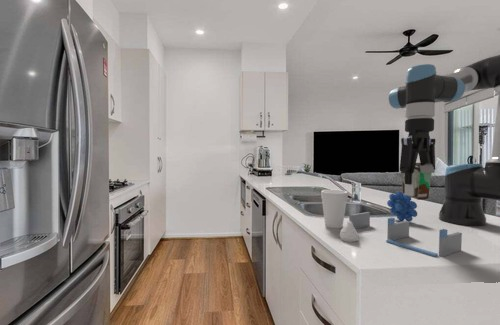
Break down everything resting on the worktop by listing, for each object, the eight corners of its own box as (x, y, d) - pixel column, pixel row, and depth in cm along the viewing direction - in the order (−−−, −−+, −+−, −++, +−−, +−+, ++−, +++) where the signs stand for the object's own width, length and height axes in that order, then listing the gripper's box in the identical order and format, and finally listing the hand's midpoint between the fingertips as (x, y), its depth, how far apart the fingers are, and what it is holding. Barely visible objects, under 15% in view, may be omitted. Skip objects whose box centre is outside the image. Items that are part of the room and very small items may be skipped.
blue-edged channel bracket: (367, 225, 106) (367, 206, 105) (461, 250, 79) (462, 226, 78) (345, 229, 100) (345, 209, 99) (438, 258, 73) (439, 231, 72)
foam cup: (321, 228, 101) (321, 192, 101) (320, 221, 110) (321, 189, 110) (348, 229, 99) (349, 193, 98) (345, 223, 108) (346, 190, 107)
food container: (443, 200, 78) (444, 165, 77) (420, 200, 79) (421, 165, 78) (419, 192, 90) (420, 162, 90) (400, 192, 91) (400, 162, 90)
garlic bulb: (361, 222, 86) (346, 223, 85) (361, 241, 86) (345, 243, 85) (351, 218, 91) (336, 219, 90) (351, 236, 91) (336, 237, 90)
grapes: (382, 219, 114) (382, 190, 114) (389, 217, 119) (390, 189, 118) (412, 225, 105) (413, 194, 105) (419, 222, 109) (420, 192, 109)
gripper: (425, 121, 91) (423, 190, 92) (386, 117, 82) (384, 195, 83) (450, 119, 85) (448, 193, 86) (411, 114, 75) (409, 198, 76)
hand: (417, 194), depth 84 cm, fingers closed on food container, 7 cm apart
